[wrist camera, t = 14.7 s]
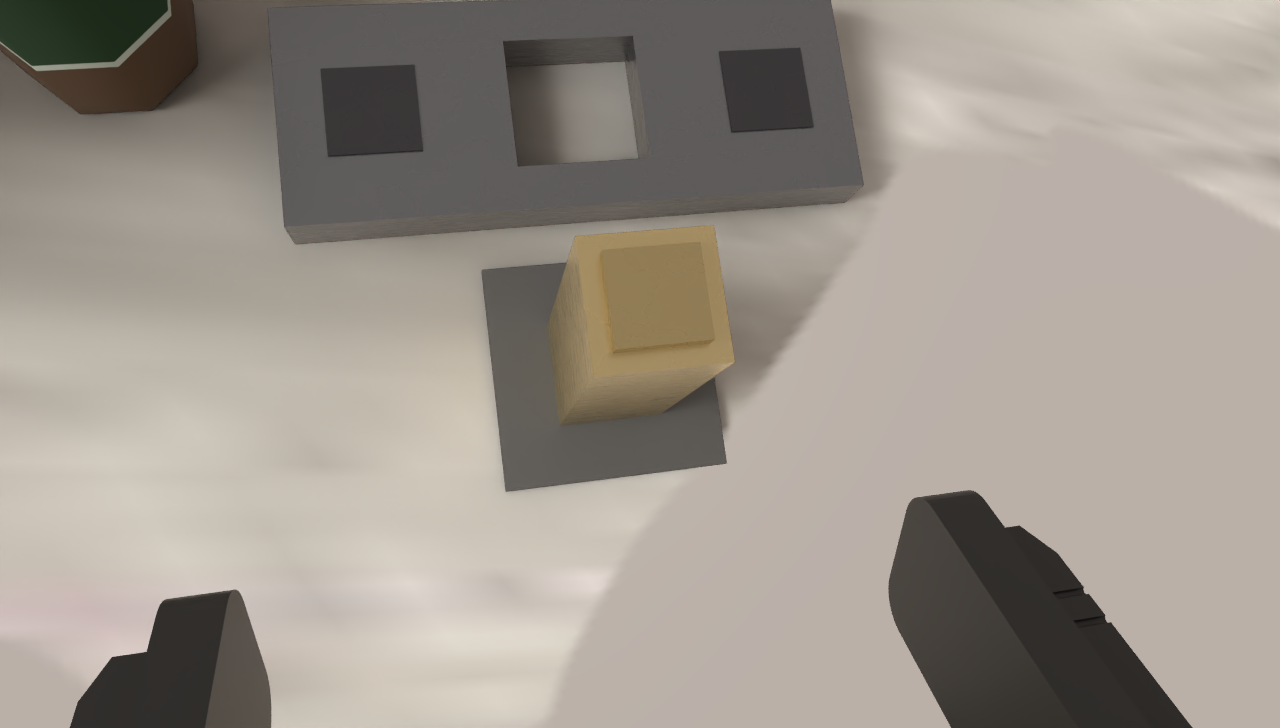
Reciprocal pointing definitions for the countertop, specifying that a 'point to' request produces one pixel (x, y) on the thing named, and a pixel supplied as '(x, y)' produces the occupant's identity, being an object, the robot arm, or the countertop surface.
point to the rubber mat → (530, 403)
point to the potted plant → (102, 49)
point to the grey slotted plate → (482, 121)
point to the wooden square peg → (637, 323)
